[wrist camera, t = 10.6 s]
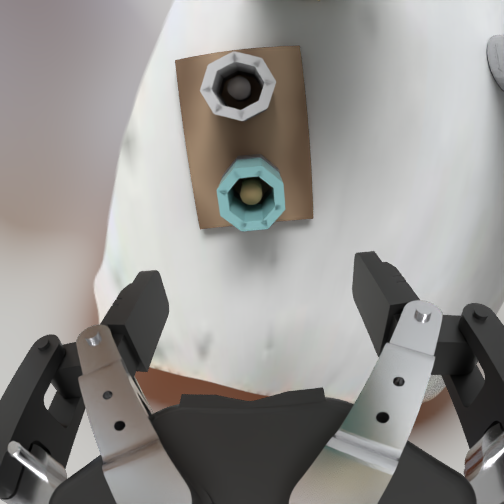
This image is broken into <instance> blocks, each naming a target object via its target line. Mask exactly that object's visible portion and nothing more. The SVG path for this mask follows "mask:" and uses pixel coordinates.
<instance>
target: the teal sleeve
mask: <svg viewBox="0 0 504 504" xmlns="http://www.w3.org/2000/svg"><path fill="white" fill-rule="evenodd" d="M257 176H259V177H260V178H261V179H262V180H264V181H265V182H266V183H268V184H269V185H270V186H271V187H270V188H269V190H268V191H267V192H266V193H265V194H264V195H263V197H262V198H261V200H260V201H259V202H258V203H257V204H254V205H248V204H246V203H244V202H243V201H242V199H241V197H240V194H239V193H238V192H236V191H235V187H234V184H235V183H236V181H237V180H238V179H239V178H247V177H257ZM217 197H218V204H219V210H220V216H221V217H223V218H224V219H225V220H227V221H228V222H229V223H231V224H232V225H233V226H235V227H236V228H237V229H239V230H240V231H252V230H263V229H268V228H269V227H270V226H271V225H272V224H273V223H274V222H275V221H276V219H277V218H278V217H279V216H280V215H281V214H282V213H283V212H284V211H285V197H284V184H283V181H282V179H281V176H280V171H279V169H278V167H276V166H275V165H274V164H273V163H272V162H270V161H269V160H268V159H267V158H265V157H264V156H263V155H261V154H253V155H244V156H237V158H236V159H235V160H234V161H233V162H232V164H231V165H230V166H229V167H228V169H227V170H226V171H225V172H224V174H223V176H222V180H221V182H220V184H219V186H218V188H217Z"/></svg>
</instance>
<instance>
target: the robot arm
mask: <svg viewBox="0 0 504 504" xmlns="http://www.w3.org/2000/svg"><path fill="white" fill-rule="evenodd" d="M487 55H488V61H489V65H490V68H491V71H492V73H493V76H494V78H495V80H496V81H497V83H498V85H499V86H500V87H501V89H502V90H503V91H504V35H497V36H493V37H491V38H490V40H489V42H488V46H487ZM352 291H353V298H354V301H355V303H356V306H357V308H358V310H359V312H360V315H361V317H362V319H363V322H364V324H365V326H366V329H367V331H368V333H369V336H370V338H371V341H372V343H373V345H374V348H375V350H376V353H377V355H378V357H379V359H378V361H377V363H376V365H375V367H374V369H373V371H372V373H371V375H370V377H369V378H368V380H367V382H366V384H365V386H364V388H363V390H362V391H361V393H360V395H359V397H358V398H357V400H356V402H355V404H352V403H349V402H347V401H343V400H340V399H335V398H327V397H325V395H324V390H323V388H315V389H306V390H297V391H287V392H284V393H281V394H277V395H274V396H270V397H266V398H263V399H259V400H255V401H244V400H238V399H233V398H228V397H223V396H218V395H188V394H182V396H181V400H180V404H178V405H174V406H170V407H167V408H164V409H162V410H160V411H158V412H156V413H153V411H152V409H151V407H150V405H149V404H148V402H147V400H146V398H145V396H144V394H143V392H142V390H141V388H140V386H139V384H138V382H137V380H136V379H135V377H134V376H135V373H136V371H141V372H147V371H148V369H149V366H150V363H151V360H152V358H153V355H154V352H155V349H156V347H157V344H158V341H159V338H160V336H161V333H162V330H163V328H164V325H165V323H166V320H167V317H168V314H169V303H168V299H167V296H166V293H165V289H164V286H163V283H162V279H161V276H160V273H159V272H158V271H157V270H152V271H141V272H139V273H138V275H137V276H136V278H135V280H134V281H133V283H132V284H129V285H128V286H126V287H125V288H124V289H123V290H122V291H121V292H120V294H119V295H118V297H117V300H115V301H114V303H113V306H111V308H110V309H109V311H108V312H107V314H106V316H105V317H104V319H103V320H102V322H101V324H100V325H94V326H91V327H88V328H87V329H85V330H84V331H83V332H81V334H80V335H79V336H78V338H77V340H76V342H74V343H69V344H64V345H62V344H61V342H60V340H59V338H58V337H57V336H56V335H46V336H43V337H42V338H40V339H39V340H37V341H36V342H35V343H34V344H33V346H32V347H31V349H30V350H29V352H28V354H27V355H26V357H25V358H24V360H23V362H22V363H21V365H20V367H19V368H18V370H17V371H16V373H15V375H14V377H13V378H12V380H11V382H10V384H9V385H8V387H7V389H6V391H5V393H4V394H3V396H2V398H1V400H0V499H1V500H2V501H4V502H6V503H7V504H504V325H503V324H502V323H501V321H500V320H499V319H498V317H497V316H496V315H495V313H494V312H493V311H492V310H491V309H490V308H488V307H487V306H485V305H482V304H478V303H471V304H468V305H466V306H465V307H464V309H463V312H462V315H461V316H452V315H442V312H441V310H440V309H439V308H438V307H437V306H436V305H434V304H433V303H431V302H428V301H423V300H420V299H419V298H418V296H417V295H416V294H415V292H414V291H413V290H412V288H411V287H410V285H409V284H408V283H407V282H406V280H405V279H404V277H403V276H402V275H401V273H400V272H399V271H398V269H397V268H396V267H394V266H393V265H391V264H389V263H388V262H382V261H381V260H380V258H379V257H378V256H377V254H376V253H375V252H374V251H370V252H360V253H356V254H355V258H354V272H353V285H352ZM478 361H479V363H480V365H481V367H482V369H483V371H484V373H485V380H484V378H483V376H482V374H481V372H480V370H479V368H478V367H477V365H476V364H477V362H478ZM430 375H441V376H442V378H443V380H444V382H445V385H446V387H447V390H448V392H449V394H450V397H451V399H452V402H453V404H454V407H455V409H456V412H457V414H458V417H459V419H460V422H461V425H462V428H463V431H464V433H465V436H466V439H467V442H468V445H469V448H470V450H469V451H468V453H467V455H466V458H465V469H464V476H465V477H464V476H463V475H462V474H460V473H459V472H457V471H455V470H454V469H452V468H450V467H449V466H447V465H445V464H444V463H442V462H441V461H439V460H437V459H436V458H434V457H432V456H431V455H429V454H428V453H426V452H425V451H423V450H422V449H420V448H418V447H417V446H415V445H414V444H412V443H411V442H409V441H408V437H409V435H410V432H411V430H412V427H413V425H414V422H415V420H416V417H417V414H418V412H419V409H420V406H421V403H422V400H423V397H424V394H425V391H426V388H427V385H428V382H429V379H430ZM50 383H52V385H53V386H54V387H55V389H56V390H57V392H56V394H55V396H54V398H53V400H52V403H51V405H50V407H49V409H48V410H47V409H46V408H45V405H44V395H45V393H46V391H47V389H48V387H49V385H50ZM85 408H86V411H87V415H88V418H89V421H90V425H91V428H92V431H93V434H94V437H95V440H96V443H97V445H98V448H99V451H100V454H101V455H100V456H98V457H97V458H96V459H94V460H93V461H91V462H90V463H89V464H87V465H86V466H85V467H83V468H82V469H80V470H79V471H78V472H76V473H75V474H73V475H72V476H71V477H70V478H68V479H67V473H66V470H65V468H66V465H67V462H68V458H69V455H70V452H71V449H72V446H73V442H74V439H75V436H76V433H77V431H78V427H79V425H80V422H81V419H82V416H83V413H84V411H85Z"/></svg>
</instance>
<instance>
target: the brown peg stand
mask: <svg viewBox="0 0 504 504" xmlns="http://www.w3.org/2000/svg"><path fill="white" fill-rule="evenodd" d="M234 51H235V52H240V53H244V54H248V55H252V56H256V57H259V58H262V59H263V60H264V62H265V64H266V65H267V67H268V69H269V70H270V72H271V74H272V75H273V77H274V79H275V80H276V84H275V87H274V91H273V94H272V97H271V100H270V103H269V106H268V108H267V110H266V111H264V112H262V113H260V114H258V115H256V116H254V117H252V118H250V119H248V120H247V121H245V122H244V121H239V120H236V119H232V118H228V117H224V116H220V115H216V114H214V113H213V112H212V110H211V108H210V107H209V105H208V103H207V102H206V100H205V98H204V97H203V95H202V94H201V92H200V89H201V85H202V82H203V79H204V76H205V72H206V69H207V66H208V64H210V63H212V62H214V61H216V60H218V59H220V58H221V57H223V56H225V55H227V54H229V53H231V52H234ZM175 65H176V74H177V82H178V90H179V98H180V106H181V114H182V121H183V128H184V135H185V142H186V149H187V155H188V162H189V168H190V174H191V181H192V187H193V193H194V198H195V204H196V210H197V215H198V221H199V226H200V229H206V228H216V227H225V226H233V225H232V224H231V223H229V222H228V221H227V220H225V219H224V218H223V217H221V216H220V210H219V204H218V197H217V188H218V186H219V184H220V182H221V180H222V176H223V174H224V172H225V171H226V170H227V169H228V167H229V166H230V165H231V164H232V162H233V161H234V160H235V159H236V158H237V156H244V155H253V154H261V155H263V156H264V157H265V158H267V159H268V160H269V161H270V162H272V163H273V164H274V165H275V166H276V167H278V169H279V171H280V176H281V179H282V181H283V184H284V197H285V211H284V212H283V213H282V214H281V215H280V216H279V217H278V218H277V219H276V221H275V222H278V221H289V220H301V219H313V194H312V174H311V157H310V142H309V129H308V117H307V105H306V95H305V86H304V76H303V68H302V60H301V52H300V46H278V47H262V48H251V49H241V50H232V51H225V52H218V53H211V54H205V55H199V56H194V57H189V58H184V59H179V60H175ZM261 92H262V89H261V87H260V86H259V84H258V82H257V81H256V79H255V78H254V77H251V76H247V75H243V74H238V75H236V76H234V77H232V78H230V79H228V80H226V81H225V84H224V87H223V91H222V94H221V96H222V97H223V99H224V101H225V102H226V104H227V106H228V107H231V108H235V109H239V110H242V109H244V108H246V107H247V106H249V105H251V104H253V103H255V102H257V101H259V98H260V95H261ZM234 187H235V191H236V192H238V193H239V194H240V197H241V199H242V201H243V202H244V203H246V204H248V205H254V204H257V203H258V202H259V201H260V200H261V198H262V197H263V195H264V194H265V193H266V192H267V191H268V190H269V188H270V187H271V186H270V185H269V184H268V183H266V182H265V181H264V180H262V179H261V178H260V177H259V176H257V177H247V178H239V179H238V180H237V181H236V183H235V184H234Z"/></svg>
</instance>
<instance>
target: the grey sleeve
mask: <svg viewBox="0 0 504 504" xmlns="http://www.w3.org/2000/svg"><path fill="white" fill-rule="evenodd" d="M238 74H243V75H247V76H251V77H254V78H255V79H256V81H257V82H258V84H259V86H260V87H261V89H262V92H261V95H260V98H259V101H257V102H255V103H253V104H251V105H249V106H247V107H246V108H244V109H242V110H239V109H235V108H231V107H228V106H227V104H226V102H225V101H224V99H223V97H222V96H221V94H222V91H223V87H224V84H225V81H226V80H228V79H230V78H232V77H234V76H236V75H238ZM275 84H276V80H275V79H274V77H273V75H272V74H271V72H270V70H269V69H268V67H267V65H266V64H265V62H264V60H263V59H262V58H259V57H256V56H252V55H248V54H244V53H240V52H235V51H234V52H231V53H229V54H227V55H225V56H223V57H221V58H220V59H218V60H216V61H214V62H212V63H210V64H208V66H207V69H206V72H205V76H204V79H203V82H202V85H201V89H200V92H201V94H202V95H203V97H204V98H205V100H206V102H207V103H208V105H209V107H210V108H211V110H212V112H213V113H214V114H216V115H220V116H224V117H228V118H232V119H236V120H239V121H244V122H245V121H247V120H248V119H250V118H252V117H254V116H256V115H258V114H260V113H262V112H264V111H266V110H267V108H268V106H269V103H270V100H271V97H272V94H273V91H274V87H275Z"/></svg>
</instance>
